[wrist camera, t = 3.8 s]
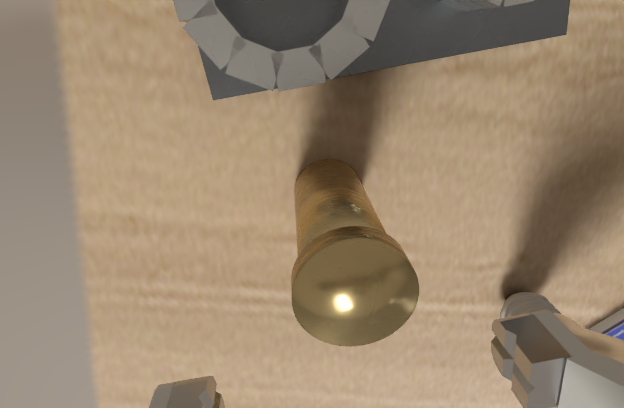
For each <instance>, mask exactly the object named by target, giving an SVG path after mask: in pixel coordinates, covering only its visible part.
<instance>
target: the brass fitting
mask: <svg viewBox="0 0 624 408" xmlns="http://www.w3.org/2000/svg"><path fill="white" fill-rule="evenodd" d="M294 194H295V212H296V231H297V249H298V257H297V259H296V261H295V264H294V267H293V270H292V282H291V283H292V306H293V311H294V314H295V316H296V318H297V320H298V322H299V323H300V325H301V326H302V327H303V328H304V329H305V330H306V331H307V332H308V333H309V334H311V335H312V336H313V337H315V338H317V339H319V340H321V341H323V342H326V343H329V344H333V345H339V346H360V345H365V344H370V343H373V342H376V341H379V340H381V339H383V338H385V337H387V336H389V335H391V334H392V333H394V332H395V331H397V330H398V329H399V328H400V327H401V326H402V325H403V324H404V323H405V322H406V321H407V320H408V319H409V317H410V316H411V314H412V313H413V311H414V309H415V307H416V304H417V301H418V296H419V283H418V278H417V275H416V273H415V271H414V269H413V267H412V265H411V263H410V261H409V260H408V258H407V256H406V254H405V252H404V250H403V249H402V247H401V246H400V245H399V244H398V243H397V242H396V241H395V240H394V239H393V238H392V237H391V236H389V235H388V234H386V232H385V230H384V228H383V226H382V224H381V222H380V220H379V218H378V216H377V214H376V212H375V210H374V208H373V206H372V204H371V202H370V200H369V198H368V196H367V194H366V192H365V190H364V188H363V186H362V184H361V182H360V180H359V178H358V176H357V174H356V173H355V171H354V170H353V169H352V168H351V167H350V166H348V165H347V164H345V163H343V162H341V161H338V160H332V159H326V160H320V161H317V162H314V163H312V164H310V165H309V166H307V167H306V168H305V169H304V170H303V171H302V172H301V173H300V175H299V176H298V178H297V181H296V184H295V189H294Z"/></svg>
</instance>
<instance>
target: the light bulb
mask: <svg viewBox="0 0 624 408" xmlns="http://www.w3.org/2000/svg"><path fill="white" fill-rule="evenodd" d="M546 309H547V310H549V311H551V312H552V313H553V314H554V315H555V316H556V317H557V318H558V319H559V320H560V321H561V322H562V323H563V324H564V325H565V326H566V327H567V328H568V329H569V330H570V331H571V332H572V333H573V334H574V335H575V336H576V337H577V338H578V339H579V340H580V341H581V342H582V343H583V344H584V345H585V346H586V347H587V348H588V349H589V350H590V351H591V352H592V353H596V352H599V353H601V354H603V355H606V356H608V357H610V358H612V359H614V360H617V361H619V362H621V363H623V364H624V340H621V339H618V338H615V337H612V336H609V335H606V334H602V333H598V332H594V331H591V330H588V329H586V328H584V327H582V326H581V325H580V324H578V323H577V322H576V321H574V320H572V319H571V318H569V317H567V316H565V315H562V314H561V313H560V312H559V311H558V310H557V309H555V307H554V306H553V305H552V304H551V303H550V302H549V301H548V300H547V299H546V298H545V297H544V296H542V295H539V294H536V293H533V292H520V293H515V294H512V295H510V296H509V297H508V298H507V300H506V301H505V303H504V305H503V308H502V310H501V313H500V319H501V318H506V317H511V316H515V315H520V314H525V313H531V312H536V311H541V310H546ZM551 408H558V407H551Z"/></svg>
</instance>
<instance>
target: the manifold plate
mask: <svg viewBox="0 0 624 408" xmlns="http://www.w3.org/2000/svg"><path fill="white" fill-rule="evenodd" d="M173 2H174V6H175V9H176V13H177V16H178V20H179V21H180V22H188V23H187V24H186V25H185V26H184V27H183V29H184V30H185V31H186V32H187V33H188V34H189V36H190V37H191V38H192V39H193V40H194V41H195V42H196V43H197V44H198V47H199V51H200V54H201V58H202V62H203V65H204V69H205V72H206V76H207V80H208V83H209V87H210V90H211V94H212V98H213V100H217V99H223V98H228V97H233V96H239V95H244V94H250V93H255V92H260V91H266V90H272V91H273V89H276V88H278V91H284V90H289V89H294V88H300V87H305V86H311V85H316V84H321V83H326V80H325V79H331V80H332V79H333V78H336V77H341V76H346V75H352V74H357V73H363V72H368V71H373V70H379V69H384V68H389V67H395V66H400V65H406V64H411V63H416V62H422V61H427V60H432V59H438V58H443V57H449V56H454V55H459V54H465V53H470V52H476V51H481V50H486V49H492V48H497V47H502V46H508V45H513V44H519V43H524V42H529V41H535V40H540V39H545V38H551V37H556V36H562V35H566V32H567V23H568V14H569V5H570V0H173Z"/></svg>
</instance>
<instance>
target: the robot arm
mask: <svg viewBox="0 0 624 408" xmlns="http://www.w3.org/2000/svg"><path fill="white" fill-rule="evenodd" d="M492 331H493V332H494V334H495V335H496V336H495V338H494V339H493V340H492V341H491V352H492V355H493V359H494V362H495V364H496V366H497V368H498V370H499V371H500V373H501V374H502V376H504V377H505V378H507V379H509V380H511V381H512V389H511V390H512V391H513V393H514V394H515V396H516V397H517V399H518V400H519V402H520V403H521V405H522V406H523V408H551V407H558V408H624V364H623V363H621V362H619V361H617V360H614V359H612V358H610V357H608V356H606V355H603V354H601V353H599V352H596V353H592V352H591V351H590V350H589V349H588V348H587V347H586V346H585V345H584V344H583V343H582V342H581V341H580V340H579V339H578V338H577V337H576V336H575V335H574V334H573V333H572V332H571V331H570V330H569V329H568V328H567V327H566V326H565V325H564V324H563V323H562V322H561V321H560V320H559V319H558V318H557V317H556V316H555V315H554V314H553V313H552V312H551V311H549V310H547V309H546V310H541V311H536V312H531V313H525V314H520V315H515V316H511V317H506V318H501V319H496V320H494V321H493V323H492ZM216 385H217V384H216V381H215V379H214V377H213V376H207V377H201V378H195V379H189V380H183V381H177V382H172V383H167V384H161V385H159V386H158V387H157V388H156V390H155V392H154V394H153V397H152V400H151V403H150V406H149V408H225V406H224V401H223V398H222V396H221V394H219V393H218V392H216Z"/></svg>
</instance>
